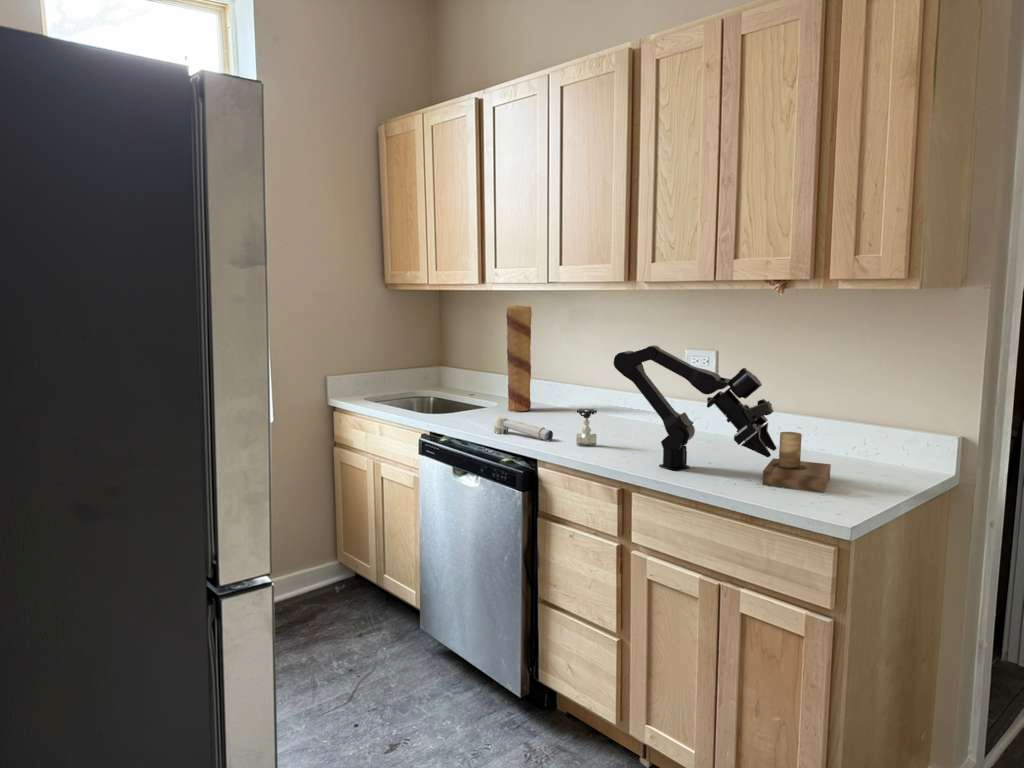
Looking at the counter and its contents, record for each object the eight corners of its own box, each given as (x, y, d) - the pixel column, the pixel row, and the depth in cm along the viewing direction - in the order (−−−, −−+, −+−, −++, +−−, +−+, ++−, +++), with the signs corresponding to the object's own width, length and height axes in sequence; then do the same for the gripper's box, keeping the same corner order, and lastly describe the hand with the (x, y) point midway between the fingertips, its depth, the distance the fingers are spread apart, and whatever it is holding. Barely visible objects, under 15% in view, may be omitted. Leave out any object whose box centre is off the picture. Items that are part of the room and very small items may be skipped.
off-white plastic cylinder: (545, 431, 246) (491, 413, 261) (543, 449, 247) (489, 431, 262) (554, 429, 250) (500, 411, 265) (552, 447, 251) (499, 429, 266)
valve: (576, 443, 244) (576, 408, 243) (596, 443, 243) (596, 408, 242) (576, 447, 238) (576, 411, 236) (596, 447, 237) (596, 411, 235)
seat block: (762, 485, 191) (763, 470, 190) (772, 472, 205) (773, 458, 204) (823, 492, 184) (824, 477, 183) (829, 478, 197) (830, 464, 197)
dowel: (791, 484, 191) (793, 436, 190) (773, 480, 196) (775, 433, 194) (803, 481, 194) (806, 434, 193) (786, 477, 199) (788, 431, 197)
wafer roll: (510, 407, 318) (509, 305, 312) (533, 408, 315) (533, 305, 310) (503, 411, 308) (503, 305, 302) (527, 412, 305) (527, 305, 300)
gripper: (749, 395, 188) (791, 441, 185) (761, 386, 205) (800, 428, 201) (717, 421, 193) (757, 467, 190) (732, 411, 209) (769, 453, 206)
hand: (772, 453), depth 196 cm, fingers open, 9 cm apart
